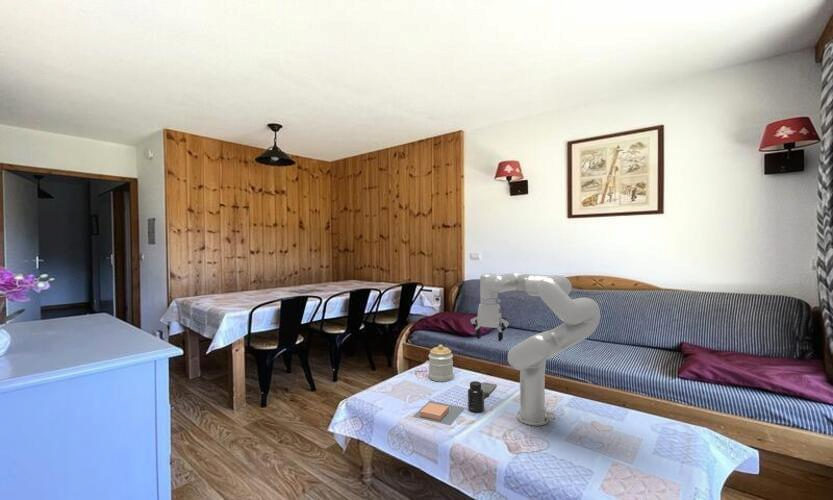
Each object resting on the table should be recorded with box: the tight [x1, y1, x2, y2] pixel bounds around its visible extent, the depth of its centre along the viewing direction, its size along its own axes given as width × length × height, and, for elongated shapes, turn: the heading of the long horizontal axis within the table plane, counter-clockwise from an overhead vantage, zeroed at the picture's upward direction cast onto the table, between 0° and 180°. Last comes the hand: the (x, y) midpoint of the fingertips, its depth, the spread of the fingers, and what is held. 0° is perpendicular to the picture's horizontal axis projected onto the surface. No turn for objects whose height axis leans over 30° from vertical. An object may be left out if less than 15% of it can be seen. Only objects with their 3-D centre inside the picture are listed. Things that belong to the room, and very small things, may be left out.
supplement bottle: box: [467, 380, 485, 414], centre depth 162 cm, size 7×7×12 cm
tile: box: [420, 403, 449, 421], centre depth 158 cm, size 9×2×9 cm
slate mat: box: [412, 400, 466, 426], centre depth 160 cm, size 17×17×1 cm
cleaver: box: [467, 381, 498, 405], centre depth 179 cm, size 29×10×2 cm, turn 152°
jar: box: [428, 344, 454, 383], centre depth 201 cm, size 13×13×18 cm
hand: (489, 339), depth 170 cm, fingers open, 9 cm apart
